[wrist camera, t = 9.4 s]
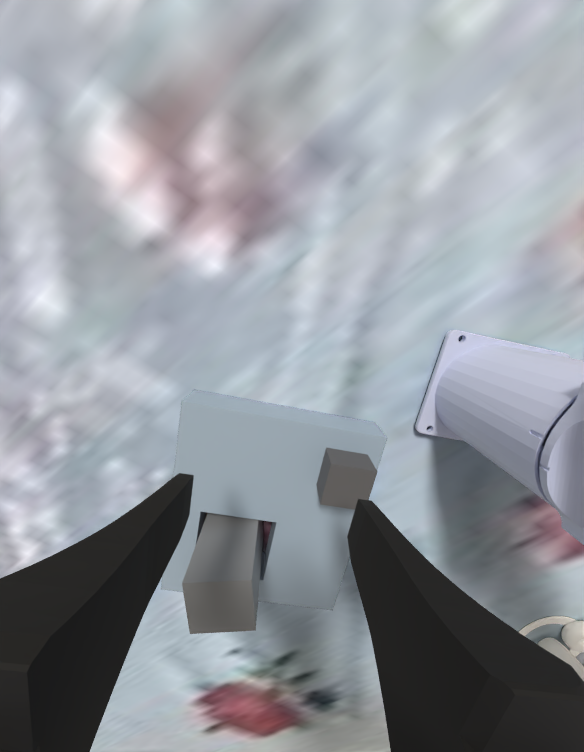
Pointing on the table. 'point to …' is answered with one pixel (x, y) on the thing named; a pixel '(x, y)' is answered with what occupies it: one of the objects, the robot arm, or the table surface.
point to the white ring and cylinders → (573, 634)
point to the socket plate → (277, 488)
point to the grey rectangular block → (224, 575)
